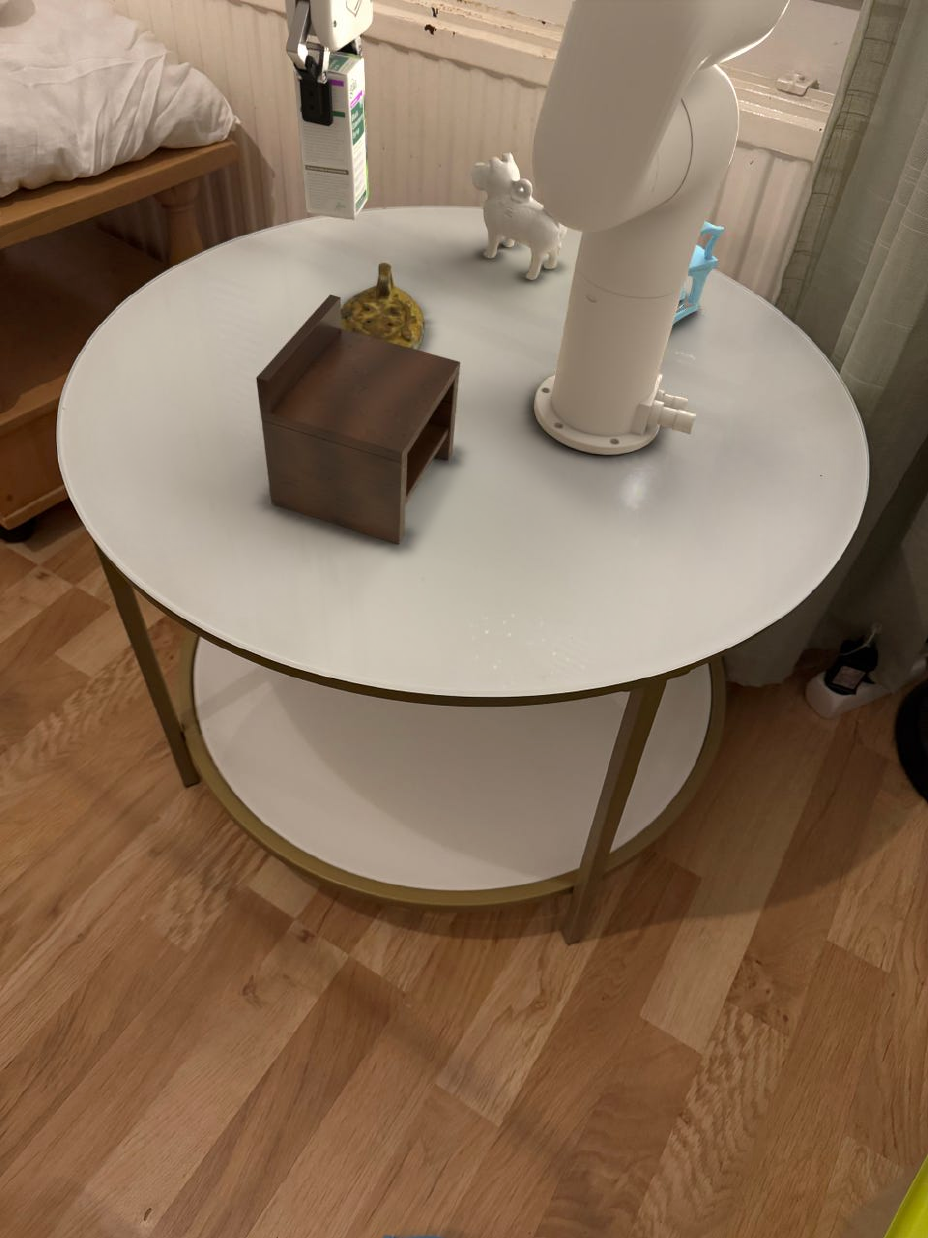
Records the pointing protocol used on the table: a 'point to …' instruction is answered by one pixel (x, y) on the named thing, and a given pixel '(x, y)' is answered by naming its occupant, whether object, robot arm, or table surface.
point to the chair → (700, 268)
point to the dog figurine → (516, 214)
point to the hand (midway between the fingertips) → (332, 108)
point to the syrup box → (337, 143)
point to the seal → (385, 313)
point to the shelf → (353, 423)
